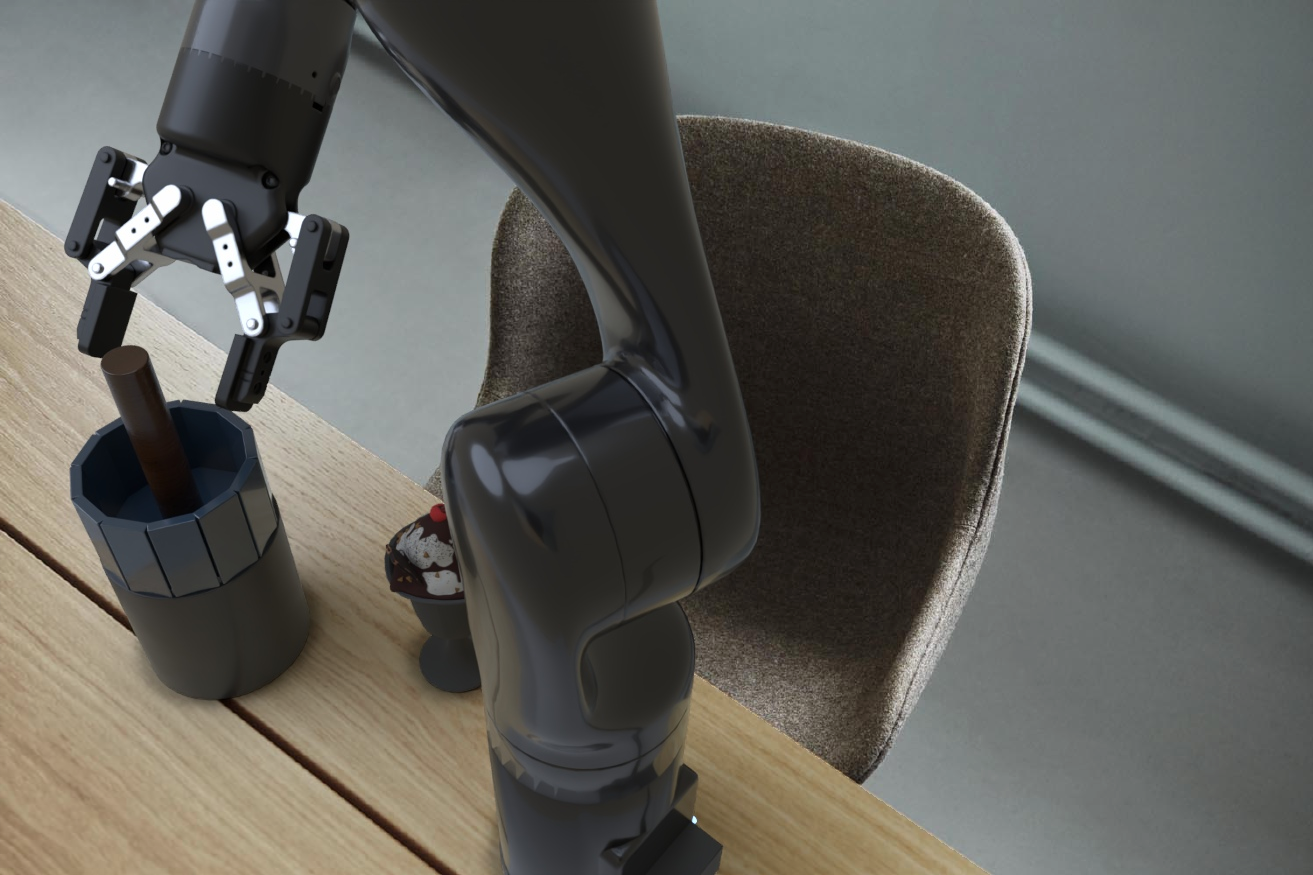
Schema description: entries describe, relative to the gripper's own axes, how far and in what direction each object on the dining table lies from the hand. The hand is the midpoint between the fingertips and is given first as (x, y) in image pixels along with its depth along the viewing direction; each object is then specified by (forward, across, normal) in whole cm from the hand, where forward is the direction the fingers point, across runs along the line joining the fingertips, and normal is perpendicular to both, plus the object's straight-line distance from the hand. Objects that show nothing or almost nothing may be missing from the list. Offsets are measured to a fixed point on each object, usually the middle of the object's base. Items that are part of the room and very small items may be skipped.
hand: (163, 382), depth 58 cm
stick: (+8, 0, +5) cm, 9 cm away
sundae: (+12, +14, +16) cm, 24 cm away
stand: (+15, 0, +13) cm, 20 cm away
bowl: (+8, 0, +6) cm, 10 cm away
